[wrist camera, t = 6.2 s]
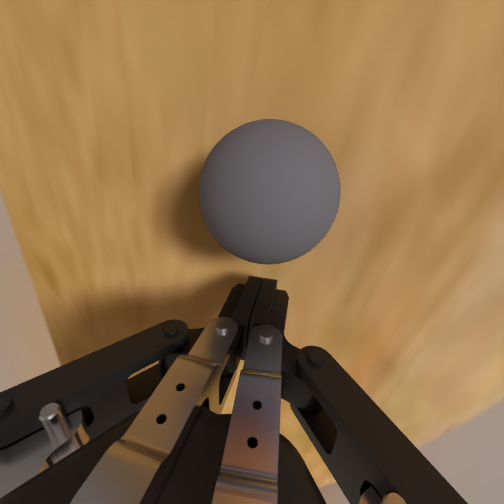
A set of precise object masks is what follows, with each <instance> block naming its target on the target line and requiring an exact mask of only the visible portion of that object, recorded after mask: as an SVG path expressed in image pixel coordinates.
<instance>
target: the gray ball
mask: <svg viewBox="0 0 504 504" xmlns="http://www.w3.org/2000/svg"><path fill="white" fill-rule="evenodd" d="M339 202H340V180H339V174H338V170H337V167H336V164H335V162H334V160H333V158H332V156H331V154H330V152H329V151H328V149H327V148H326V147H325V145H324V144H323V143H322V142H321V141H320V140H319V139H318V138H317V137H316V136H315V135H314V134H312V133H311V132H310V131H308V130H307V129H305V128H303V127H301V126H299V125H297V124H294V123H292V122H288V121H283V120H276V119H263V120H257V121H252V122H249V123H246V124H244V125H242V126H240V127H238V128H236V129H234V130H232V131H231V132H229V133H228V134H227V135H225V136H224V137H223V138H222V139H221V140H220V141H219V142H218V143H217V144H216V145H215V147H214V148H213V149H212V151H211V152H210V154H209V156H208V157H207V159H206V161H205V163H204V166H203V169H202V172H201V175H200V181H199V205H200V210H201V214H202V217H203V219H204V222H205V224H206V226H207V228H208V230H209V231H210V233H211V234H212V236H213V237H214V238H215V240H216V241H217V242H218V243H219V244H220V245H221V246H222V247H223V248H225V249H226V250H227V251H228V252H230V253H231V254H233V255H235V256H237V257H239V258H241V259H243V260H246V261H249V262H253V263H259V264H279V263H283V262H288V261H291V260H294V259H296V258H298V257H300V256H302V255H304V254H306V253H307V252H309V251H310V250H312V249H313V248H314V247H315V246H316V245H317V244H318V243H319V242H320V241H321V240H322V239H323V238H324V237H325V235H326V234H327V232H328V231H329V229H330V228H331V226H332V224H333V222H334V220H335V217H336V214H337V211H338V208H339Z"/></svg>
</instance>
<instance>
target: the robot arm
mask: <svg viewBox="0 0 504 504" xmlns="http://www.w3.org/2000/svg"><path fill="white" fill-rule="evenodd" d="M288 300H289V297H288V295H287V293H286V291H284V290H277V280H274V279H267V278H264V279H263V278H260V277H254V276H249V278H248V280H247V283H246V285H245V284H237V285H236V286H235V287H233V288H232V290H231V292H230V294H229V296H228V298H227V301H226V302H225V304H224V306H223V308H222V310H221V312H220V314H219V316H218V318H215V319H213V320H211V321H210V322H209V323H208V324H207V326H206V327H205V328H200V329H188V327H187V325H186V324H185V323H184V322H183V321H180V320H168V321H165V322H163V323H160V324H158V325H156V326H153V327H151V328H149V329H146V330H144V331H142V332H139V333H137V334H135V335H132V336H130V337H128V338H125V339H123V340H121V341H118V342H116V343H114V344H112V345H109V346H107V347H105V348H102V349H100V350H98V351H95V352H93V353H91V354H88V355H86V356H84V357H81V358H79V359H77V360H74V361H72V362H70V363H68V364H65V365H63V366H61V367H58V368H56V369H54V370H51V371H49V372H47V373H45V374H42V375H40V376H37V377H35V378H33V379H31V380H28V381H26V382H23V383H21V384H19V385H17V386H14V387H12V388H10V389H7V390H5V391H3V392H0V504H326V502H325V500H324V498H323V496H322V494H321V493H320V491H319V489H318V487H317V485H316V483H315V481H314V479H313V477H312V475H311V474H310V472H309V470H308V468H307V466H306V464H305V462H304V460H303V459H302V457H301V455H300V454H299V452H298V451H297V449H296V448H295V447H294V446H293V445H292V443H291V442H290V441H289V440H288V439H286V438H285V437H284V436H283V435H281V434H280V433H279V429H280V405H281V398H282V399H284V400H286V401H288V402H289V403H290V406H291V409H292V411H293V413H294V414H295V416H296V418H297V419H298V421H299V422H300V424H301V426H302V427H303V429H304V430H305V432H306V434H307V435H308V437H309V438H310V440H311V442H312V443H313V445H314V446H315V448H316V450H317V451H318V453H319V454H320V456H321V458H322V459H323V461H324V462H325V464H326V466H327V467H328V469H329V471H330V472H331V474H332V475H333V477H334V479H335V480H336V482H337V483H338V485H339V486H340V488H341V490H342V491H343V493H344V495H345V496H346V498H347V499H348V501H349V503H350V504H468V503H467V502H466V501H465V500H464V499H463V498H462V497H461V496H460V495H459V494H458V493H457V492H456V490H455V489H454V488H453V487H452V486H451V485H450V484H449V483H448V482H447V481H446V480H445V478H444V477H443V476H442V475H441V474H440V473H439V472H438V471H437V470H436V469H435V468H434V466H433V465H432V464H431V463H430V462H429V461H428V460H427V459H426V458H425V457H424V456H423V455H422V454H421V452H420V451H419V450H418V449H417V448H416V447H415V446H414V445H413V444H412V443H411V442H410V440H409V439H408V438H407V437H406V436H405V435H404V434H403V433H402V432H401V431H400V430H399V428H398V427H397V426H396V425H395V424H394V423H393V422H392V421H391V420H390V419H389V418H388V417H387V415H386V414H385V413H384V412H383V411H382V410H381V409H380V408H379V407H378V406H377V405H376V404H375V402H374V401H373V400H372V399H371V398H370V397H369V396H368V395H367V394H366V393H365V392H364V391H363V389H362V388H361V387H360V386H359V385H358V384H357V383H356V382H355V381H354V380H353V379H352V378H351V376H350V375H349V374H348V373H347V372H346V371H345V370H344V369H343V368H342V367H341V366H340V365H339V363H338V362H337V361H336V360H335V359H334V358H333V357H332V356H331V355H330V354H329V353H328V352H327V351H326V350H324V349H322V348H320V347H317V346H306V347H304V348H302V349H299V348H297V347H295V346H293V345H291V344H290V343H289V342H288V341H287V340H286V338H285V336H284V329H285V323H286V315H287V307H288ZM240 359H241V360H245V361H244V366H243V370H241V372H240V377H239V382H238V386H237V391H236V396H235V401H234V406H233V411H232V414H221V412H222V409H223V407H224V404H225V402H226V399H227V397H228V394H229V392H230V389H231V387H232V384H233V382H234V380H235V377H236V374H237V368H238V365H239V362H240ZM158 360H159V364H157V365H155V366H153V367H151V368H149V369H147V370H145V371H143V372H141V373H139V374H137V375H135V376H134V377H132V378H130V379H128V377H129V376H130V375H132V374H133V373H135V372H137V371H139V370H141V369H143V368H145V367H146V366H148V365H150V364H152V363H154V362H156V361H158Z"/></svg>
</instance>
